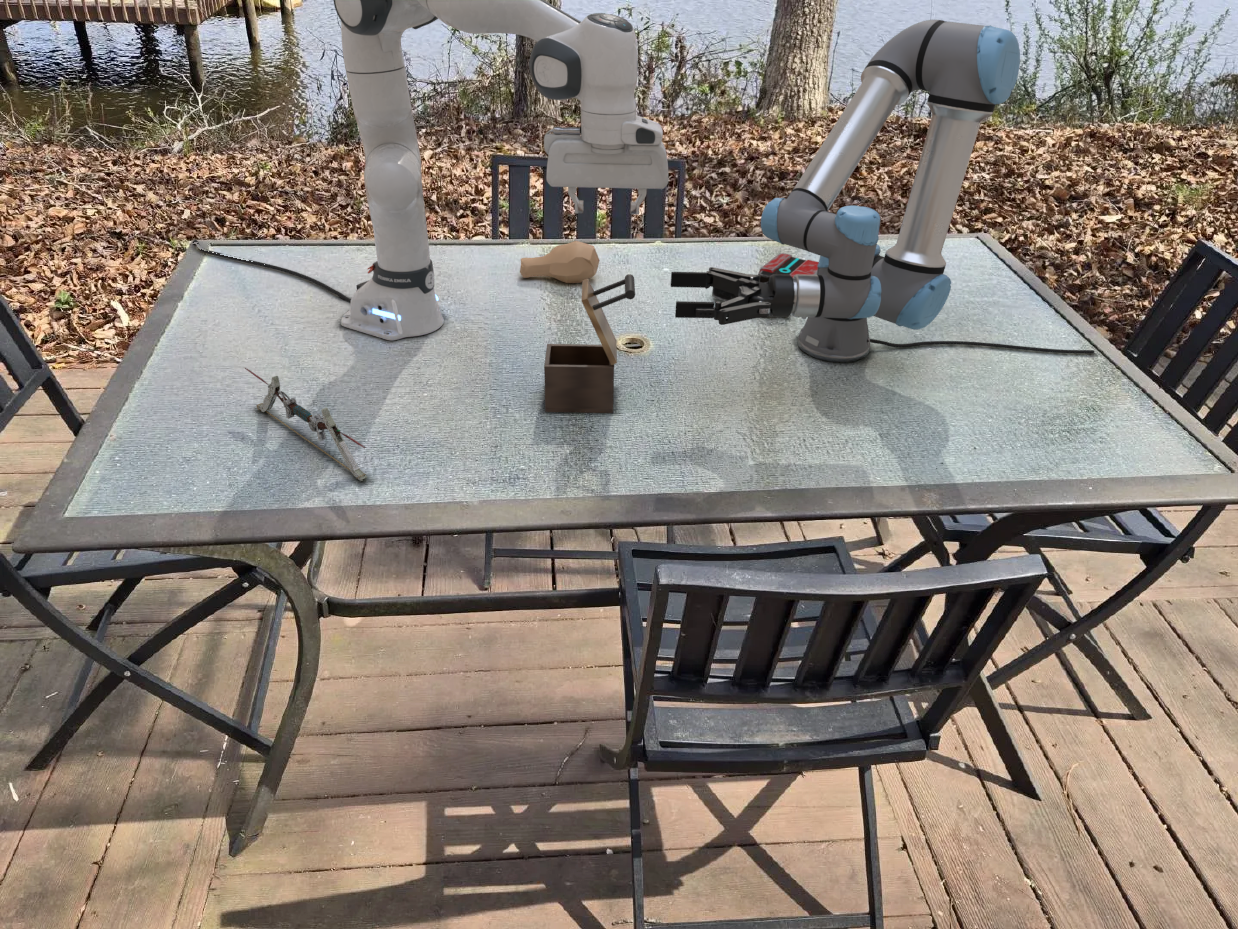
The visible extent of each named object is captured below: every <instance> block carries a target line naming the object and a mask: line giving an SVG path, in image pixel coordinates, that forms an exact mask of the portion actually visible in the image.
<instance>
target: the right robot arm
mask: <svg viewBox="0 0 1238 929" xmlns="http://www.w3.org/2000/svg"><path fill="white" fill-rule="evenodd" d="M1019 43H1020V42H1019V40H1018V38H1017V36H1016V35H1015V33H1014V32H1012V31H1010V30H1009V29H1007V28H1006V29H1005V28H1001V27H996V26H993V25H983V24H973V23H964V22H955V21H947V20H942V19H925V20H922V21H918V22H916V23H914V24H912V25H910V26H908V27H906V28H905V29H902V30H901V31H899V32H898V33H896V34H895V35H894V36H892V37H891V38H890V39H889V40H888V41H886V42H885V44H883V46H881V47H880V48H879V49H878V51H876V53H875V54H874V55H873V56H872V57H871V59H870V60H869V61H868V63H867V64H866V65H865V68H864V69H863V70H862V72H861V74H860V82H861V83H860V85H859V87H858V88H857V90H856V92H854V94H853V96H852V97H851V99H850V100H849V102H848V104H847V105H846V107H845V108H844V109H843V112H842V113H841V115H840V116H839V118H838V119H837V121H836V122H835V124H834V126H833V127H832V129H831V130H830V132H829V133H828V135H827V136H826V138H825V140H824V141H823V143H822V144H821V146H820V147H819V148H818V150H817V152H816V153H815V155H814V156H813V158H812V160H811V161H810V163H809V165H808V166H807V167H806V169H805V170H804V171H803V173H802V175H801V177H800V178H799V179H798V181H797V183H796V185H795V186H794V188H793V189H792V190H791V191H790V193H789V194H788V196H787V197H785V198H784V197H774V198H773V199H772V200H771V201H769V202H767V203H766V205H765V207H764V208H763V210H762V214H761V217H760V229H761V232H762V234H763V236H765V238H768V239H769V240H772V241H774V242H776V243H778V244H781V245H786V246H789V247H793V248H795V249H800V250H802V251H806V252H808V253H811V254H814V255H817V256H819V259H818V262H819V263H818V265H817V267H818V270H817V275H801V274H796V275H794V277H793V278H792V276H790V275H782V274H773V275H771V276H770V278H769V281H768V282H767V283H762V282H760V275H758V274H751V273H744V272H739V271H733V270H729V269H723V268H718V267H714V266H711V267H708V270H707V271H704V272H703V271H670V288H697V289H700V288H701V289H702V288H703V289H706V290H707V289H709V288H713V287H714V288H717V289H720V290H723V291H727V292H730V293H733V294H735V296H736V298H734V299H731V300H728V301H723V302H720V301H718V300H715V301H682V300H681V301H680V300H679V301H678V300H676V301H675V313H674V314H675V315H674V317H675V318H678V319H713V320H714V321H718V325H721V326H725V325H730V324H735V323H739V322H744V321H749V320H754V319H766V318H767V319H768V318H769V317H770V316H771V317H770V318H788V317H790V316H791V317H793V318H801V319H803V320H806V321H805V323H804V325H803V327H801V329H800V331H799V333H798V339H797V346H798V348H799V349H800V350H801V351H802V352H804V354H807V355H808V356H810V357H813V358H815V359H818V360H822V361H827V362H831V363H832V362H834V363H851V362H855V361H856V362H857V361H860V360H862V359H864V358H865V357H867V356H868V354H869V352H870V347H871V343H872V344H878V345H882V346H887V347H890V348H891V347H892V348H910V347H911V348H913V347H918V346H933V345H934V346H935V345H936V346H937V345H955V346H957V345H960V346H977V347H990V348H1001V349H1010V350H1011V349H1012V350H1021V351H1029V352H1030V351H1032V352H1042V353H1055V354H1080V355H1081V354H1082V355H1083V354H1090V355H1093V354H1095V350H1094V349H1060V348H1058V349H1057V348H1046V347H1045V348H1044V347H1035V346H1022V345H1014V344H1005V343H1004V344H1003V343H994V342H983V341H981V342H980V341H964V340H931V341H930V340H927V341H918V342H909V343H892V342H888V341H884V340H880V339H874V338H870V332H869V326H868V325H869V324H868V318H872V317H875V318H877V319H878V318H879V319H880V320H883V321H886V322H889V323H892V324H895V325H896V326H898V327H903V328H908V329H910V330H915V331H917V330H922V329H924V328H926V327H927V326H929V325H930V324H931V323H932V322H933V321H934V320H935V319H936V318H937V317H938V315H939V314H940V313H941V311H942V310H943V307H944V306H945V305H946V302H947V300H948V298H949V295H950V292H951V290H952V279H951V278H950V277H949V276H948V275H947V274H945V273H944V272H945V269H946V266H947V262H946V259H945V258H944V256H943V254H942V252H943V248H944V245H945V241H946V238H947V235H948V231H949V228H950V225H951V222H952V218H953V216H954V212H955V209H956V205H957V201H958V198H959V196H960V192H961V189H962V186H963V183H964V179H965V176H966V173H967V169H968V166H969V162H970V159H971V156H972V153H973V150H974V146H975V144H976V139H977V137H978V133H979V130H980V126H981V124H982V122H984V120H986V119H987V118H989V117H991V116H992V115H994V114H993V113H994V110H995V107H996V105H1001V104H1004V103H1005V102H1006V101H1007V100H1009V98H1010V97H1011V95H1012V91H1013V90H1014V89H1015V86H1016V84H1017V80H1018V76H1019V70H1020V65H1021V62H1020V61H1021V49H1020V44H1019ZM915 91H924V92H929V93H928V98H927V101H926V105H927V106H928V108H929V110H930V112H931V118H930V122H929V126H928V129H927V133H926V136H925V140H924V144H923V147H922V151H921V154H920V158H919V161H918V165H917V168H916V172H915V176H914V179H913V183H912V186H911V190H910V193H909V197H908V200H907V204H906V208H905V211H904V215H903V219H902V222H901V226H900V229H899V232H898V236H897V240H896V243H895V245H892V246H891V247H890V248H889V249H887V250H886V251H885V254H884V256H882V255H880V254H881V246H880V245H879V244H878V243H879V238H880V237H879V233H880V225H881V216H880V214H879V212H878V211H876V210H875V209H874V208H871V207H868V206H860V205H845V206H842V207H840V208H839V209H838V210H837V212H836V213H834V212H830V211H829V210H830V208H831V207H832V205H833V203H834V202H835V200H836V199H837V198H838V196H839V194H841V191H842V190H843V188H844V187H845V185H846V183H847V182H848V181H849V179H850V178H851V176H852V175H853V173H854V171H855V169H856V168H857V166H858V165H859V164H860V162H861V161H862V160H863V157H864V155H865V154H866V153H867V151H868V150H869V148H870V146H871V145H872V143H873V142H874V141H875V139H876V138H877V136H878V134H879V132H880V131H881V129H882V128H883V127H884V125H885V123H886V122H887V121H888V119H889V117H890V115H891V114H892V113H893V111H894V109H895V108H896V106H899V105H902V104H904V103H905V102H906V101H907V100H908V98H909V97H910V95H911V93H913V92H915Z"/></svg>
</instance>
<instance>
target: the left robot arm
mask: <svg viewBox="0 0 1238 929" xmlns="http://www.w3.org/2000/svg"><path fill="white" fill-rule="evenodd" d="M333 5H334V9H335V13H336V15H337V16H338V18H339V21H340V34H341V35H340V36H341V48H342V49H341V50H342V57H343V64H344V69H345V75H346V79H347V85H348V89H349V95H350V99H351V106H352V110H353V115H354V118H355V121H356V124H357V128H358V131H359V132H358V133H359V136H360V139H361V144H362V148H363V153H364V159H365V160H364V161H365V166H364V171H363V183H364V189H365V195H366V201H367V205H368V206H367V207H368V210H369V216H370V221H371V224H372V231H373V238H374V245H375V246H374V247H375V253H376V254H375V255H376V261H374V262H373V263H372V265H371V266H369V267H368V268H367V274H370V273H372V277H371V278H370V279H369V280H365V281H362V282H360V283H358V284H356V285H355V287H356V289H355V292H354V293H353V294H352V296H351V298H350V297H348V296H347V295H345V294H343V293H342V292H340V291H338V290H337V289H334V288H333V287H331V286H330V285H327V284H326V283H324V282H322V281H320V280H318V279H315V278H313V277H311V276H308V275H306V274H304V273H300V272H298V271H294V270H291V269H289V268H285V267H281V266H277V265H274V264H269V263H265V262H261V261H256V260H252V259H248V260H249V261H246V260H241V259H237V258H233V257H228V256H224V255H220V254H223V253H222V252H217V251H213V250H210V249H208V250H209V252H208V251H204V250H202V249H201V250H199V251H200V252H202V253H204V254H207V255H212V256H215V257H219V258H223V259H227V260H232V261H235V262H241V263H245V264H250V265H254V266H258V267H263V268H266V269H271V270H275V271H278V272H281V273H285V274H289V275H292V276H295V277H298V278H300V279H303V280H306V281H308V282H310V283H313V284H314V285H317V286H319V287H321V288H323V289H325V290H327V291H328V292H330V293H331V294H333V295H334V296H337V297H339V298H340V299H342V300H343V301H345V302H348V303H350V305H349V310H347V311H346V313H344V314H343V316H342V317H341V320H340V324H341V326H342V327H344V328H347V329H350V330H354V331H357V332H360V333H364V334H367V335H370V336H373V337H377V338H380V339H383V340H387V341H396V340H397V341H398V340H401V339H404V338H412V337H420V336H423V335H427V334H430V333H431V334H432V333H434V332H436V331H437V330H439V329H441V327H442V326H443V325H444V323H445V320H444V317H443V314H442V312H441V310H440V307H439V303H438V301H439V297H438V295H437V294H436V291H435V271H434V264H433V260H432V259H431V253H430V243H429V232H428V223H427V216H426V209H425V208H426V207H425V199H424V198H425V197H424V190H423V178H422V174H423V172H422V158H421V152H420V145H419V141H418V135H417V130H416V124H415V119H414V113H413V109H412V103H411V102H412V101H411V95H410V89H409V83H408V77H407V76H408V75H407V70H406V64H405V58H404V54H403V48H402V36H403V34H404V33H405V31H407V30H408V29H411V28H412V29H413V30H418V29H420V28H422V27H425V26H427V25H431V24H432V23H434V22H436V21H437V20H439V21H441V22H442V23H444V24H445V25H447V26H449V27H450V28H453V29H455V30H458V31H459V32H460V31H461V32H463V33H466V34H471V35H472V34H473V35H474V34H475V35H483V34H484V35H485V34H508V35H511V34H512V35H516V36H517V35H518V36H522V37H526V38H528V39H531V40H533V41H535V42H536V43H535V44H534V46H533V48H532V50H531V52H530V57H529V63H528V66H529V74H530V79H531V81H532V84H533V86H534V88H535V89H536V90H537V91H538V93H539V94H540V95H541V96H543V97H544V98H546V99H548V100H553V101H554V100H555V101H565V100H570V99H577V100H578V101H579V103H580V126H568V127H562V126H554V127H552V128H551V129H549V130H547V131H546V133H545V134H544V137H543V149H544V152H545V154H546V155H547V164H546V182H547V184H548V185H549V187H553V188H567V194H568V196H569V198H570V200H571V201H572V203H573V204H574V214H584V210H585V209H584V203H585V202H584V200H581V199H579V198H578V196H577V191H578V190H577V188H588V189H589V188H591V189H593V188H594V189H637V195H638V196H637V198H636V200H635V201H630V208H629V209H630V215H636V216H637V215H640V207H641V205H642V204H643V201H644V200H645V198H646V196H647V194H648V193H647V192H648V190H664V189H665V188H666V187H667V185H668V184H669V163H668V154H667V150H666V146H665V143H664V142H663V138H664V131H663V128H662V126H661V124H660V123H659V122H656V121H654V120H651V119H649V118H645V117H643V116H641V115H637V103H636V99H635V90H636V86H637V83H638V68H639V67H638V65H639V64H638V62H639V61H638V60H639V58H638V57H639V56H638V42H637V35H636V31H635V28H634V25H633V24H632V23H631V22H630V21H629V20H627V19H626V18H624V17H622V16H619V15H616V14H612V13H605V12H594V13H590V14H588V15H587V16H585V17H584V18H583V20H582V21H581V20H579V19H577V18H576V17H574V16H573V15H571V14H569V13H567V12H565V11H564V10H562V9H560V8H558V7H557V6H555V5H553V4H551V2H548V1H546V0H333ZM194 242H198V243H197V244H199V245H200V242H199V241H198V240H197V239H193V240H192V243H194ZM192 245H193V246H196V245H195V244H192ZM212 252H214V253H212ZM216 253H217V254H216ZM251 261H253V262H251ZM264 264H265V265H264Z"/></svg>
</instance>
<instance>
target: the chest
mask: <svg viewBox="0 0 1238 929" xmlns="http://www.w3.org/2000/svg"><path fill="white" fill-rule="evenodd" d="M543 370H544V372H543V374H544V375H543V376H544V409H545V411H544V412H545V413H587V414H589V413H591V414H595V413H596V414H613V413H614V393H615V389H614V388H615V364H614V365H611V364H610V361H609V359H608V357H607V355H606V353H605V351H604V348H603V346H602V344H586V343H585V344H582V343H581V344H580V343H577V344H575V343H546V350H545V357H544V365H543Z"/></svg>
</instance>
